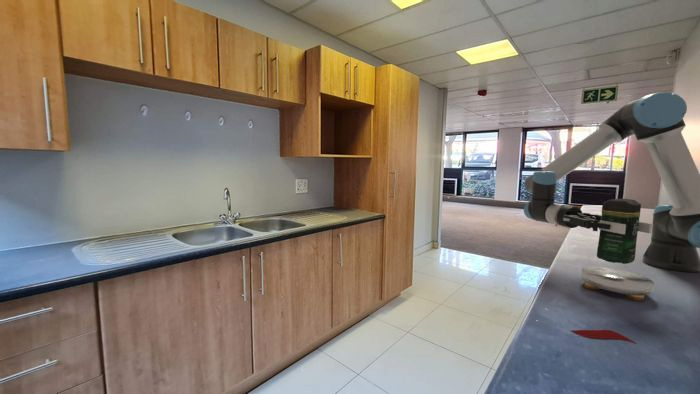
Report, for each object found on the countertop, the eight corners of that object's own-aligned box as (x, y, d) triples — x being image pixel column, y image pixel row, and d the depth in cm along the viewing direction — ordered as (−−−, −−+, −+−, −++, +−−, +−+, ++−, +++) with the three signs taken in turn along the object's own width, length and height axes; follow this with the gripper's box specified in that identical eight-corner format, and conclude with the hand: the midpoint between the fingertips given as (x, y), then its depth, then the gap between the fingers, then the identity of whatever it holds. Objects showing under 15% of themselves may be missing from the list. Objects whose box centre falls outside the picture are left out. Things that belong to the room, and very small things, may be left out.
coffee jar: (627, 266, 81) (634, 200, 79) (592, 259, 88) (598, 198, 86) (638, 261, 86) (645, 199, 84) (605, 254, 93) (610, 196, 91)
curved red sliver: (635, 341, 62) (636, 333, 62) (642, 352, 59) (643, 343, 58) (566, 325, 69) (567, 317, 69) (568, 334, 65) (568, 326, 65)
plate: (608, 278, 97) (609, 265, 97) (668, 299, 81) (669, 284, 81) (567, 282, 94) (568, 268, 94) (621, 304, 79) (623, 288, 78)
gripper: (588, 225, 106) (665, 240, 84) (537, 227, 102) (605, 243, 80) (590, 205, 105) (668, 214, 83) (539, 205, 101) (607, 216, 79)
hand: (637, 228), depth 81 cm, fingers closed on coffee jar, 8 cm apart
